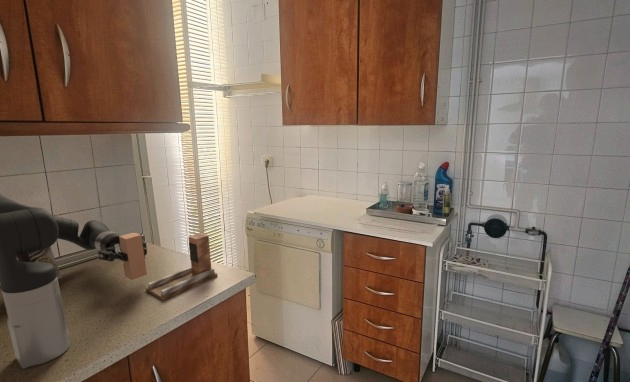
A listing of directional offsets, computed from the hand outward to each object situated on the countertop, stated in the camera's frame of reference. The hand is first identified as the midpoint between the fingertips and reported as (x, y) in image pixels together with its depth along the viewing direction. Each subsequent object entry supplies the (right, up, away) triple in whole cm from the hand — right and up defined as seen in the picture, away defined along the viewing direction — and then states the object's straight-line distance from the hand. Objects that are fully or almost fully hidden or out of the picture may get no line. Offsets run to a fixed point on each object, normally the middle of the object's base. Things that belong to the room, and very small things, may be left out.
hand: (136, 255), depth 100 cm
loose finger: (-1, -7, +2) cm, 7 cm away
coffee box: (-32, -10, +4) cm, 34 cm away
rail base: (+12, -10, +6) cm, 17 cm away
